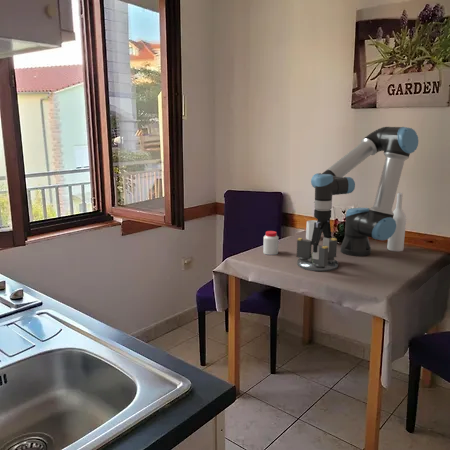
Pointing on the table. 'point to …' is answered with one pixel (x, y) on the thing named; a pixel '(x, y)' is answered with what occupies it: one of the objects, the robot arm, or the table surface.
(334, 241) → the knob
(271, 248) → the pill bottle
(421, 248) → the table surface
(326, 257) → the leg
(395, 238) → the bottle
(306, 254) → the knob
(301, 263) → the plate
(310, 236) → the mug
